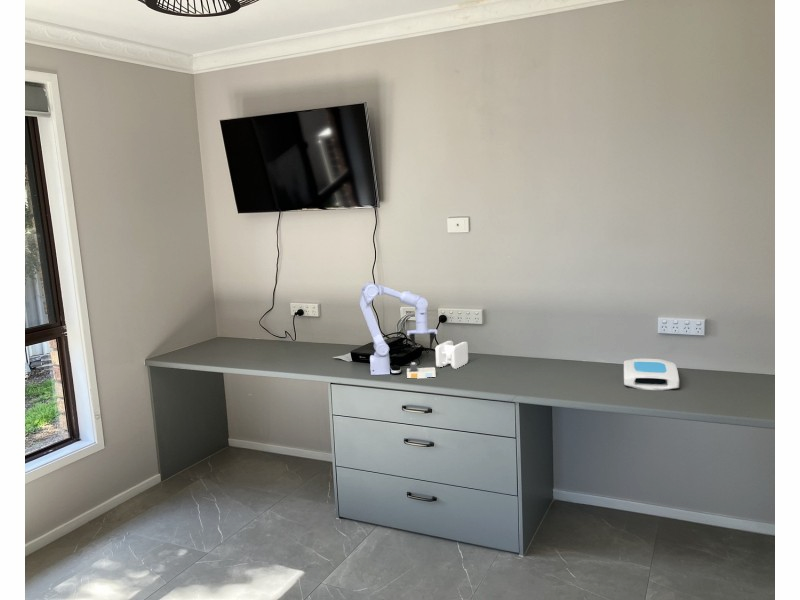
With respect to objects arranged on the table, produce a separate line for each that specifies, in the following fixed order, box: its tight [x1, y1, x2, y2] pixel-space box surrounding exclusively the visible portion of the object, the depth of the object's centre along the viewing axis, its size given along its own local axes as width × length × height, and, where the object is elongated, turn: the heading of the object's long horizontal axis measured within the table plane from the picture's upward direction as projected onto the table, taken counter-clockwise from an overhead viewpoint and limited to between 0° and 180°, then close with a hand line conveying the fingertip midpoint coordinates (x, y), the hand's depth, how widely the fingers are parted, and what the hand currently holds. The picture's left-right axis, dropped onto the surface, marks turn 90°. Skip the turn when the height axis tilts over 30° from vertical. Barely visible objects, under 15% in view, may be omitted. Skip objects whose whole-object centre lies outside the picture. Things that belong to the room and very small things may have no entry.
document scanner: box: [623, 357, 680, 391], centre depth 271 cm, size 21×28×6 cm
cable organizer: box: [434, 340, 469, 370], centre depth 308 cm, size 15×11×12 cm
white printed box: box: [406, 367, 437, 379], centre depth 295 cm, size 13×7×3 cm, turn 89°
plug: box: [409, 361, 418, 372], centre depth 295 cm, size 3×3×7 cm
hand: (422, 348), depth 306 cm, fingers open, 7 cm apart
